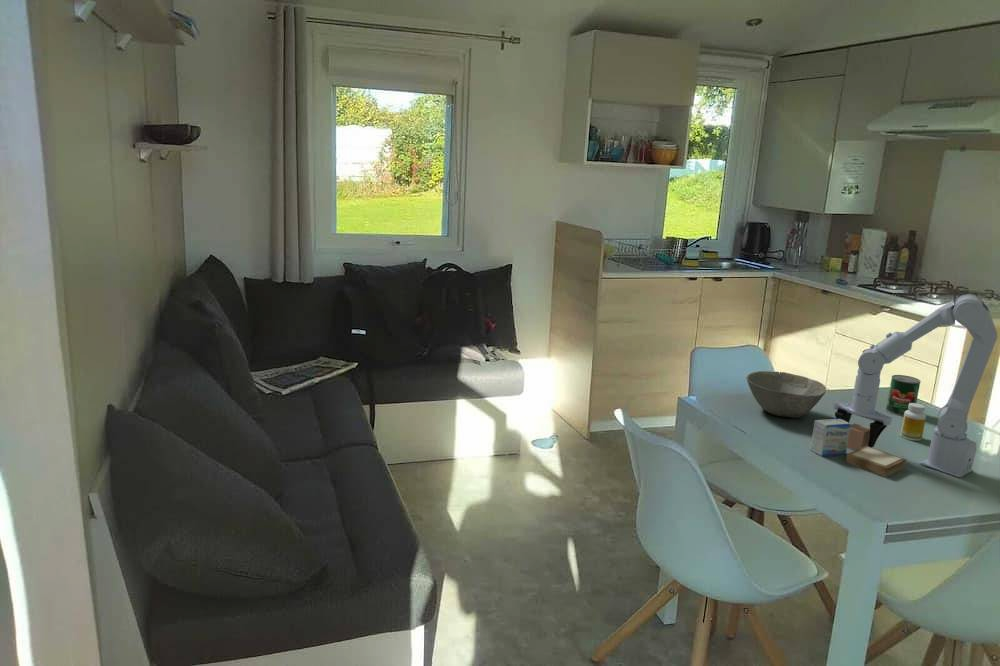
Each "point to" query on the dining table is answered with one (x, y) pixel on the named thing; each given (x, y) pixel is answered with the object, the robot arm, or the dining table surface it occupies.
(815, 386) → the ceramic bowl
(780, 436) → the dining table surface
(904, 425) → the supplement bottle
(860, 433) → the block
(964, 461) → the robot arm
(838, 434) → the medicine box
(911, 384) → the canned tomato
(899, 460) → the walnut plinth
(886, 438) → the dining table surface
